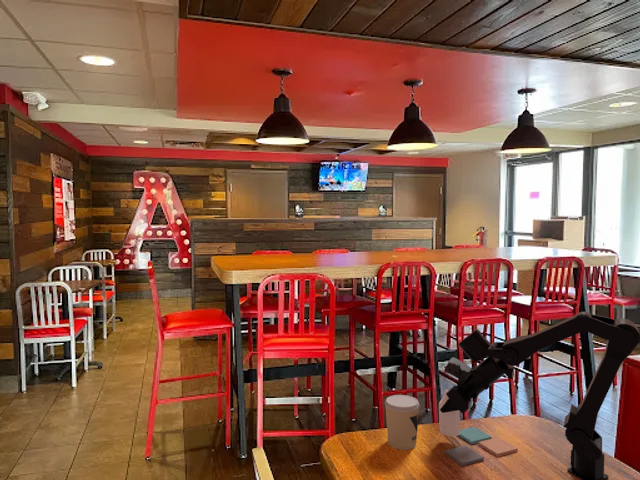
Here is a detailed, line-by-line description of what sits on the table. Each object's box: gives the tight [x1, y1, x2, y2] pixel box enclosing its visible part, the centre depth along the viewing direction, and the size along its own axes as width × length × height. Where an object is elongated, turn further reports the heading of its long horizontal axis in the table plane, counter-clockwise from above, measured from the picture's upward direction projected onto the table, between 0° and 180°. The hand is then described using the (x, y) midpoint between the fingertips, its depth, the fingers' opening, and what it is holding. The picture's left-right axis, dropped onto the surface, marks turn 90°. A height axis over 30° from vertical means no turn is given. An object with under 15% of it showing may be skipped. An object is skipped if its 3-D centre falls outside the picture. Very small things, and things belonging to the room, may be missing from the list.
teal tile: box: [457, 426, 493, 445], centre depth 136 cm, size 7×7×1 cm
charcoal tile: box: [443, 445, 485, 467], centre depth 125 cm, size 7×7×1 cm
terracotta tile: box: [478, 436, 519, 458], centre depth 130 cm, size 7×7×1 cm
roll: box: [438, 388, 461, 437], centre depth 133 cm, size 6×12×6 cm
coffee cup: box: [384, 394, 420, 451], centre depth 133 cm, size 9×9×12 cm
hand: (444, 407), depth 133 cm, fingers closed on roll, 6 cm apart
